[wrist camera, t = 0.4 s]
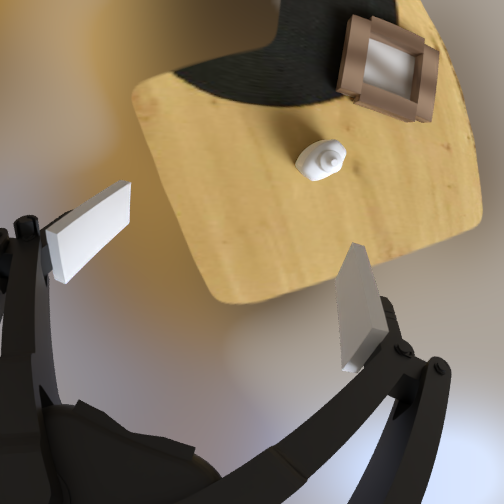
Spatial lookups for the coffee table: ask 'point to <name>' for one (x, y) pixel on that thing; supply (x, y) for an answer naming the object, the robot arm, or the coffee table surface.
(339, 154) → the eye dropper bottle
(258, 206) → the coffee table surface
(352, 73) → the socket block
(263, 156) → the coffee table surface
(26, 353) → the robot arm
